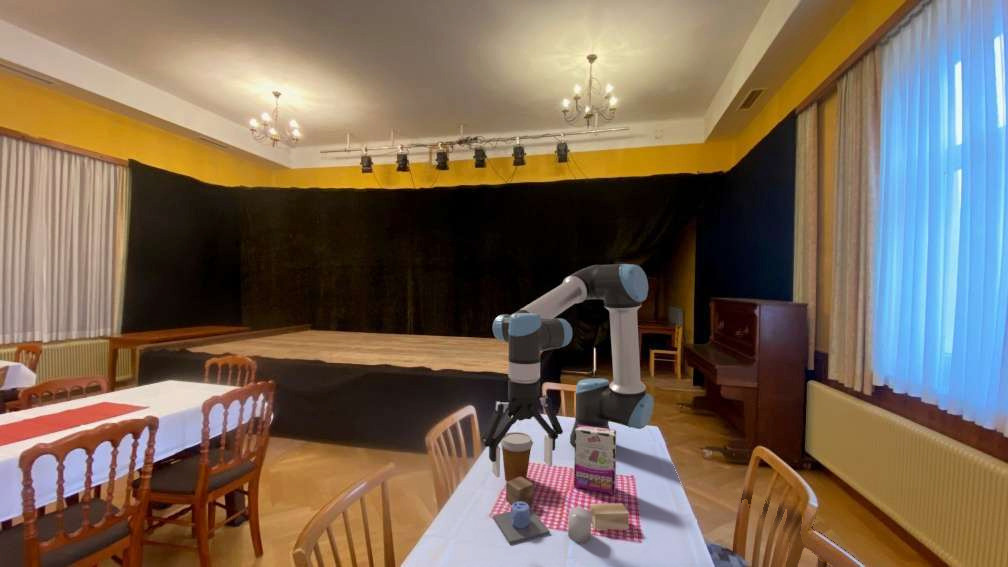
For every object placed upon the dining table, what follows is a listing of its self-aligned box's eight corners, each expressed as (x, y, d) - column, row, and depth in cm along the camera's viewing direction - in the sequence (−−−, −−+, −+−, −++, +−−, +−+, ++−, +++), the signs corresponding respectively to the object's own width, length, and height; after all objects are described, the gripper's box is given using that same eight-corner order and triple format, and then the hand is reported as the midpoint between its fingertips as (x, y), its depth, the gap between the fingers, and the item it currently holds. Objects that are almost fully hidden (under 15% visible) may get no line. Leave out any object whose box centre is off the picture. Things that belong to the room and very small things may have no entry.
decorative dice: (530, 528, 87) (530, 510, 87) (513, 529, 86) (513, 511, 86) (526, 517, 91) (527, 500, 91) (510, 518, 90) (510, 501, 90)
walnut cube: (520, 494, 102) (520, 476, 102) (532, 503, 98) (533, 484, 98) (505, 500, 99) (506, 481, 99) (518, 510, 95) (518, 490, 95)
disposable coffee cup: (529, 489, 105) (530, 446, 105) (496, 485, 107) (497, 442, 107) (533, 473, 114) (534, 433, 114) (502, 469, 116) (504, 430, 116)
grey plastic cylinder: (582, 526, 89) (582, 505, 89) (595, 540, 84) (595, 517, 84) (564, 531, 87) (564, 510, 87) (576, 545, 82) (576, 522, 82)
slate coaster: (529, 509, 95) (529, 507, 95) (549, 533, 86) (549, 531, 86) (492, 517, 91) (492, 515, 91) (509, 544, 82) (509, 541, 82)
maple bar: (589, 520, 92) (590, 503, 92) (621, 519, 92) (622, 503, 92) (594, 530, 88) (595, 513, 88) (628, 530, 88) (628, 513, 88)
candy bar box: (615, 487, 107) (617, 429, 107) (614, 496, 102) (616, 435, 103) (576, 479, 111) (577, 423, 111) (573, 487, 106) (574, 429, 106)
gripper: (561, 371, 97) (560, 453, 97) (468, 379, 88) (467, 471, 88) (577, 378, 90) (576, 466, 91) (479, 388, 81) (477, 487, 81)
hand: (522, 469), depth 89 cm, fingers open, 13 cm apart
